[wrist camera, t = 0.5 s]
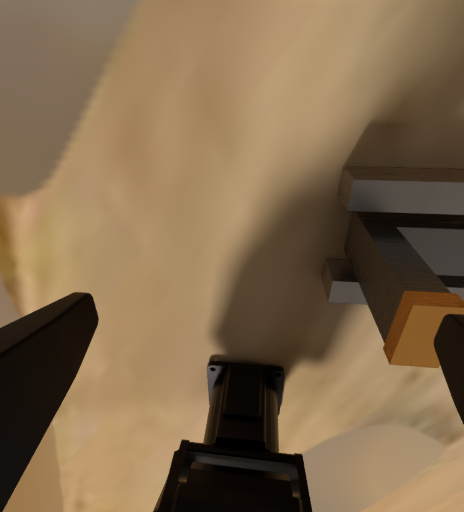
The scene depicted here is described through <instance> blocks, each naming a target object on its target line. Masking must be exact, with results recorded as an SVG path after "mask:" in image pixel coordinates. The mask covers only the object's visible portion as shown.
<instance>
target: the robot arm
mask: <svg viewBox="0 0 464 512" xmlns="http://www.w3.org/2000/svg"><path fill="white" fill-rule="evenodd" d="M97 325H98V314H97V310H96V307H95V303H94V300H93V297H92V295H91V294H90V293H83V292H75V293H72V294H70V295H68V296H66V297H64V298H61V299H59V300H57V301H55V302H53V303H51V304H49V305H47V306H45V307H43V308H41V309H39V310H37V311H34V312H32V313H30V314H28V315H26V316H24V317H22V318H20V319H18V320H16V321H14V322H12V323H10V324H8V325H6V326H3V327H2V328H0V512H2V511H3V510H4V508H5V506H6V504H7V502H8V500H9V499H10V497H11V495H12V493H13V491H14V489H15V488H16V486H17V484H18V482H19V480H20V478H21V476H22V475H23V473H24V471H25V469H26V467H27V465H28V464H29V462H30V460H31V458H32V456H33V455H34V453H35V451H36V449H37V447H38V445H39V444H40V442H41V440H42V438H43V436H44V434H45V432H46V430H47V429H48V427H49V425H50V423H51V422H52V420H53V418H54V416H55V414H56V412H57V411H58V409H59V407H60V405H61V403H62V401H63V400H64V398H65V396H66V394H67V392H68V390H69V388H70V387H71V385H72V383H73V381H74V379H75V377H76V375H77V373H78V371H79V368H80V366H81V364H82V361H83V359H84V356H85V354H86V352H87V349H88V347H89V344H90V342H91V340H92V337H93V335H94V333H95V330H96V328H97ZM434 349H435V352H436V354H437V357H438V360H439V363H440V366H441V368H442V371H443V374H444V377H445V379H446V382H447V385H448V388H449V390H450V393H451V396H452V399H453V401H454V404H455V406H456V409H457V411H458V413H459V415H460V418H461V420H462V422H463V424H464V315H463V314H447V315H445V316H444V317H443V319H442V321H441V324H440V326H439V328H438V330H437V333H436V335H435V337H434ZM207 377H208V391H209V405H210V407H209V413H208V419H207V424H206V430H205V436H204V442H203V443H195V442H189V440H182V441H181V444H180V447H179V450H177V451H175V452H174V455H173V459H172V463H171V467H170V471H169V474H168V478H167V480H166V483H165V485H164V487H163V490H162V492H161V494H160V497H159V499H158V501H157V504H156V506H155V508H154V511H153V512H312V507H311V502H310V497H309V491H308V485H307V480H306V473H305V468H304V462H303V456H302V454H297V453H294V455H293V454H285V453H279V440H278V415H279V412H280V405H281V397H282V390H283V382H284V369H283V368H281V367H275V366H263V365H250V364H237V363H225V362H209V363H208V366H207Z"/></svg>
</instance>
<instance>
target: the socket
mask: <svg viewBox="0 0 464 512" xmlns="http://www.w3.org/2000/svg"><path fill="white" fill-rule="evenodd" d="M338 195H339V197H340V199H341V201H342V202H343V204H344V206H345V208H346V209H347V211H367V212H396V213H425V214H453V215H464V169H433V168H389V167H345V166H343V170H342V176H341V181H340V186H339V192H338ZM436 276H437V277H438V278H439V279H440V280H441V282H442V283H443V284H444V285H445V286H446V288H447V289H448V290H449V291H450V292H451V293H456V294H458V295H459V296H460V297H461V299H462V300H463V301H464V276H449V275H436ZM322 281H323V284H324V288H325V292H326V296H327V299H328V302H331V303H348V304H365V305H368V304H367V302H366V299H365V297H364V295H363V292H362V290H361V288H360V285H359V283H358V281H357V278H356V276H355V274H354V271H353V269H352V267H351V264H350V262H349V260H328V259H326V262H325V267H324V272H323V278H322Z"/></svg>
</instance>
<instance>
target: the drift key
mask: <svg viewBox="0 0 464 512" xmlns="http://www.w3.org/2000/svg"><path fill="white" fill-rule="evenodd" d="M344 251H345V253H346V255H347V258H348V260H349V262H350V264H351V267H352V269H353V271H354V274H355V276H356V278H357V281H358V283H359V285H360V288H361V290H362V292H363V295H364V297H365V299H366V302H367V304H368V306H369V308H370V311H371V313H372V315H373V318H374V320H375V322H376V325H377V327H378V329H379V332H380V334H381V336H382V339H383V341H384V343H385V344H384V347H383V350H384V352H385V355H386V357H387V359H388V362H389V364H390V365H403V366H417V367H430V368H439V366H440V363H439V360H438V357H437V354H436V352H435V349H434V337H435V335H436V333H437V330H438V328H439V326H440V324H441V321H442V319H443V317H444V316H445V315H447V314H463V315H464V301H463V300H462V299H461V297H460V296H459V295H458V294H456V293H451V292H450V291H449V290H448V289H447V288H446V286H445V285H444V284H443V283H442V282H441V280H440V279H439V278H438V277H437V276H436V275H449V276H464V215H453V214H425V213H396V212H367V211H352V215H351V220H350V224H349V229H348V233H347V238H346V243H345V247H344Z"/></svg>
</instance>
